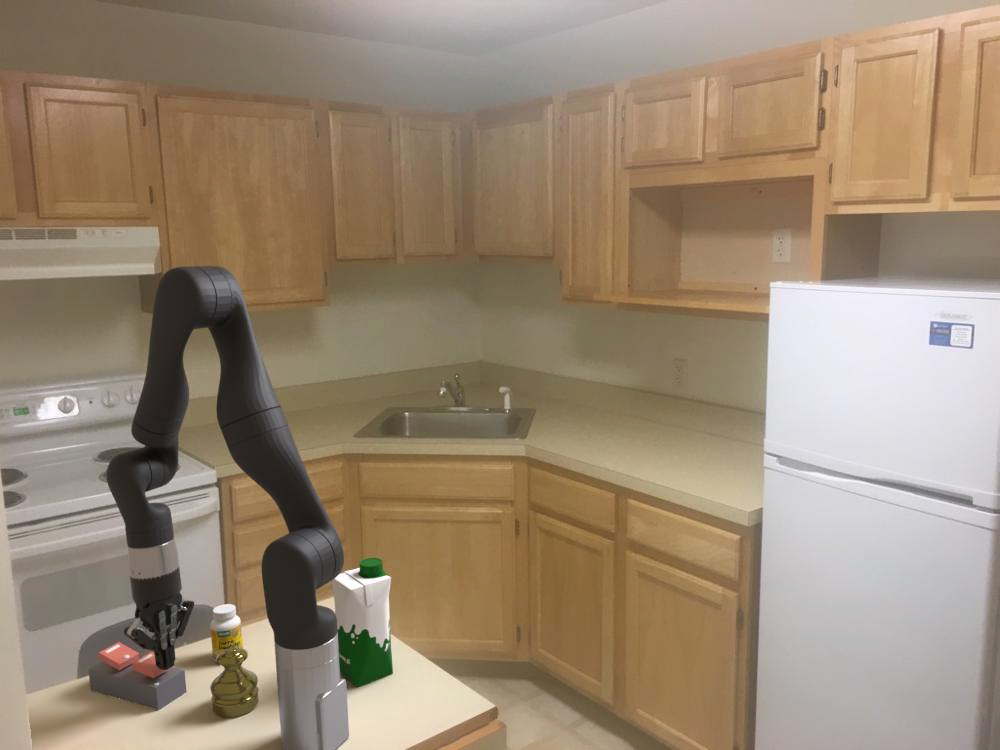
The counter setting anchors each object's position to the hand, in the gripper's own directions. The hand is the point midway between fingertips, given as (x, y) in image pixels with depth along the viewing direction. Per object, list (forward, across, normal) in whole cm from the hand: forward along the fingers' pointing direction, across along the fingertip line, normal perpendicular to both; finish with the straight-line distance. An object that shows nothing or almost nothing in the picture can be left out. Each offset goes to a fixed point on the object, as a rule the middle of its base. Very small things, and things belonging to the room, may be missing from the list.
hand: (166, 667), depth 132 cm
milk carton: (+7, +20, -25) cm, 33 cm away
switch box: (+6, 0, +8) cm, 10 cm away
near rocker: (0, 0, +3) cm, 3 cm away
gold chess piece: (+7, +3, -11) cm, 13 cm away
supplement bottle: (+6, +15, +2) cm, 16 cm away
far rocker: (0, 0, +11) cm, 11 cm away
